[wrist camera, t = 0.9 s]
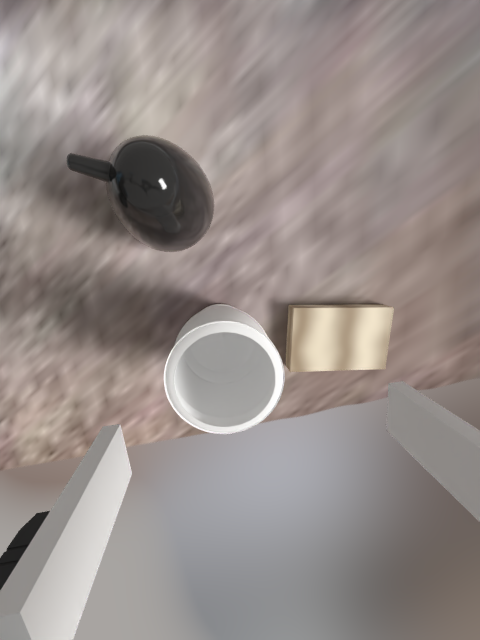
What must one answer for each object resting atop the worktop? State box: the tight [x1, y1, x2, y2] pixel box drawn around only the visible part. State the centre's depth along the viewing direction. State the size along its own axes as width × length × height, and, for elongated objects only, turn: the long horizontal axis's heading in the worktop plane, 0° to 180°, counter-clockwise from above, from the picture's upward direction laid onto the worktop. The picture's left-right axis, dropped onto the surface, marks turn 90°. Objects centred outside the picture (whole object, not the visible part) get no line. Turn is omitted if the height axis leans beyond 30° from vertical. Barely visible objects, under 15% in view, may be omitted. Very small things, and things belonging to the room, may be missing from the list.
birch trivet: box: [285, 304, 394, 372], centre depth 37 cm, size 14×9×2 cm, turn 89°
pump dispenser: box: [67, 135, 214, 252], centre depth 25 cm, size 10×10×15 cm
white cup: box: [164, 304, 284, 434], centre depth 30 cm, size 11×10×15 cm
